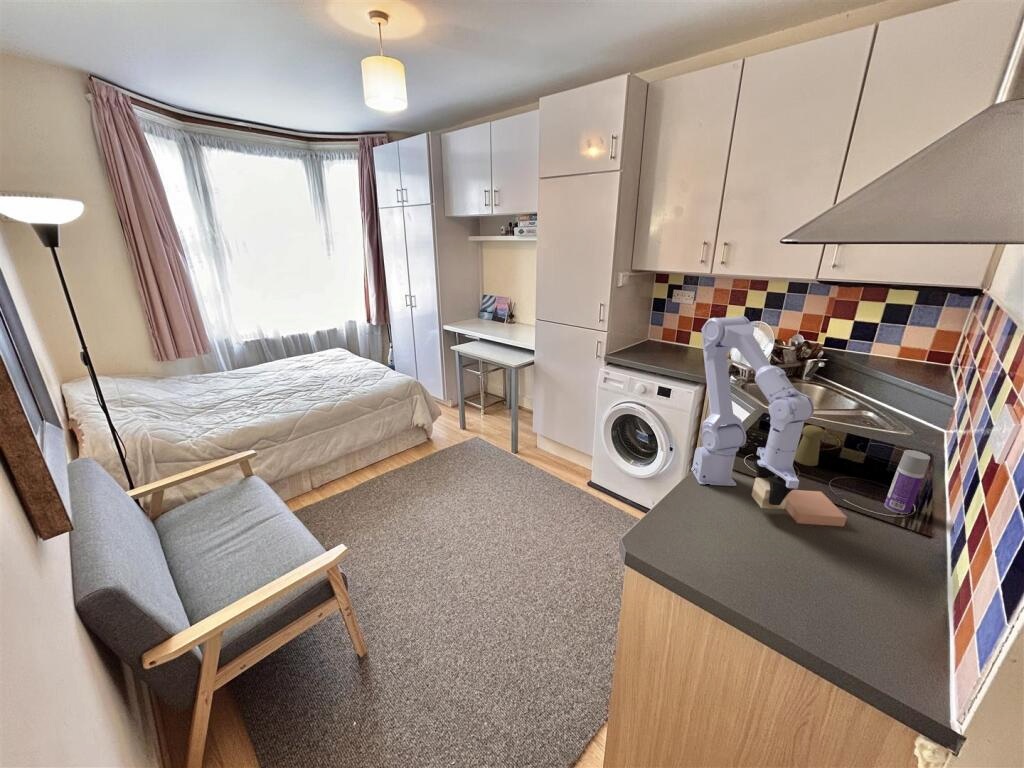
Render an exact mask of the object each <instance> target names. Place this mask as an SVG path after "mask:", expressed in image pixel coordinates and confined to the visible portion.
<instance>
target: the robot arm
mask: <svg viewBox="0 0 1024 768" xmlns="http://www.w3.org/2000/svg"><path fill="white" fill-rule="evenodd" d="M754 331H755V327H754V326H753V325H752V324H751V321H750V319H748V318H747V317H746V316H744V315H739V316H738V315H737V316H730V317H729V316H728V317H726V316H725V317H711V318H709V319H707V321H706V322H705V323H704V324H703V326H702V328H701V337H702V339H701V340H702V347H703V348H702V352H703V361H704V362H703V363H704V370H705V371H704V372H705V377H706V387H707V388H706V389H707V397H708V406H709V416H708V417H706V419H704V421H702V423H701V425H702V429H701V437H700V439H701V443H702V445H703V446H699V447H698V446H697V447H696V448H695V451H694V455H693V461H692V467H691V468H690V470H691V472H692V471H693V470H694V469H695V470H694V471H693V472H692V474H693V475H694V477H695V478H696V480H697V482H698V483H699V484H700V485H705V484H710V485H709V486H725V487H726V486H728V487H732V486H733V487H737V483H736V481H735V480H734V479H733V477H732V474H733V468H734V464H735V461H736V460H735V459H736V456H737V455H736V454H737V452H739V449H740V447H743V446H744V445H745V444H746V442H747V434H746V430H745V429H744V427H743V424H742V419H741V418H740V417H739V416H737V415H736V414H734V409H733V402H732V401H733V399H732V391H731V383H730V374H729V366H728V357H727V354H728V353H730V351H731V350H732V349H736V350H737V351H738V352H739V353H740V354H741V356H742V357H743V358H744V359H745V361H746V362H747V363H748V364H749V366H750V367H751V368H752V370H753V371H754V372H755V376H754V382H755V383H756V384H757V386H758V388H759V390H761V392H762V394H763V395H764V397H765V398H766V400H767V401H768V403H769V404H768V413H769V416H770V419H769V421H770V422H769V424H770V429H769V432H768V437H767V441H766V445H765V447H761V446H760V447H757V451H756V455H757V456H758V457H760V459H754V460H753V462H752V463H753V465H754V468H755V472H756V478H768V480H769V484H770V495H769V503H770V504H771V505H780V504H781V503H782V501H783V500H784V498H785V497H786V496H787V495H788V493H790V492H791V491H792V490H796V489H799V483H800V480H799V479H798V476H797V475H796V471H795V469H794V465H793V464H794V461H795V460H794V458H795V454H796V451H797V449H798V446H799V444H800V441H801V439H800V438H801V435H802V430H803V428H804V424H805V421H806V420H809V419H810V418H812V416H813V415H814V412H815V405H814V402H813V400H812V399H811V397H810V396H809V395H807V394H805V393H801V392H800V391H799V390H797V389H796V387H795V386H794V385H793V384H792V382H791V381H790V379H789V378H788V376H786V374H787V372H785V370H784V369H782V368H781V367H779V366H776V365H772V364H771V362H770V361H769V359H768V358H767V356H766V354H765V352H764V350H763V349H762V347H761V346H760V344H759V342H758V340H757V338H756V337H755V335H754V334H755V333H754ZM776 475H777V476H776Z"/></svg>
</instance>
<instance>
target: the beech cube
mask: <svg viewBox="0 0 1024 768" xmlns="http://www.w3.org/2000/svg"><path fill="white" fill-rule="evenodd" d="M769 495H770V484H769V480H768V478H757V477H755V479H754V483H753V487H752V492H751V497H752V498H753V499H754V500H755V502H756V503H757V505H758V506H759V507H760V508H761V509H773V510H785V504H786V500H787V496H788V495H787V496H786V497H785V498H784V500H783V501H782V503H781V504H780V505H771V504H770V503H769Z"/></svg>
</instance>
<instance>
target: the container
mask: <svg viewBox="0 0 1024 768" xmlns="http://www.w3.org/2000/svg"><path fill="white" fill-rule="evenodd" d="M930 460H931V456H930V455H928V454H927V453H924V452H922V451H919V450H914V449H912V450H911V449H905V450H904V451H903V453H902V456H901V459H900V461H899V463H898V465H897V468H896V471H895V474H894V476H893V479H892V482H891V485H890V488H889V490H888V493H887V495H886V499H885V501H884V504H883V505H884V507H885V508H886V509H887V510H889V511H890V512H892V513H896V514H898V513H900V515H903V514H907V515H909V514H910V513H911V511H912V508H913V505H914V504H915V501H916V498H917V496H918V492H919V490H920V487H921V485H922V483H923V480H924V478H925V474H926V472H927V469H928V465H929V464H930ZM908 513H909V514H908Z"/></svg>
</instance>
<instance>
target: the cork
mask: <svg viewBox="0 0 1024 768" xmlns="http://www.w3.org/2000/svg"><path fill="white" fill-rule="evenodd" d="M801 435H802V438H801V439H800V441H799V443H798V447H797V450H796V454H795V458H794V461H795V462H797V463H798V464H802V465H803V466H809V467H816V466H818V465H819V457H820V456H819V455H820V449H821V440H822V439H824V437H825V430H824V429H823V428H822V427H821V426H816V425H813V424H812V425H811V424H809V425H805V426H803V429H802V432H801Z"/></svg>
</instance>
